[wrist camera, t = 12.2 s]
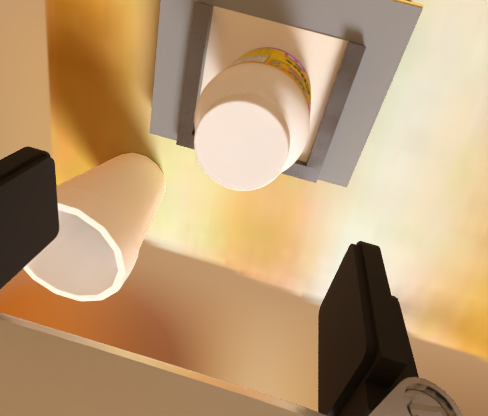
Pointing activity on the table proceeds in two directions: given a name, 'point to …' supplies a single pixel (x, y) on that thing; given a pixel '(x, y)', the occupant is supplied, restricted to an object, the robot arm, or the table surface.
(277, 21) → the loading dock
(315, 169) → the bay rails
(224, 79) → the supplement bottle
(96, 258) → the foam cup
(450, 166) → the table surface
